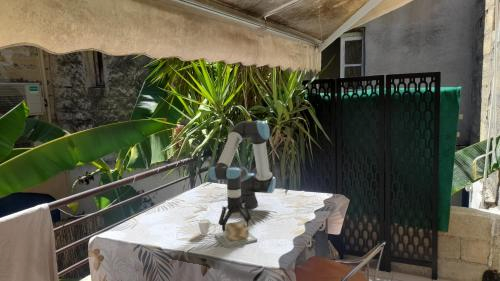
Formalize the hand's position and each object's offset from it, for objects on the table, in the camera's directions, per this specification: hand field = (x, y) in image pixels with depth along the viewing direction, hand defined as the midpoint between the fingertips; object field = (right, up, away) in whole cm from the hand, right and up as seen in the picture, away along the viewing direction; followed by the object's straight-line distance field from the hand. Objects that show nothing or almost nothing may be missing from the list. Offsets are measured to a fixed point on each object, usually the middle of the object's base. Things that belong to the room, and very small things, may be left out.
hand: (235, 234), depth 195 cm
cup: (-17, -2, +8) cm, 19 cm away
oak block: (0, -1, 0) cm, 1 cm away
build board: (0, -3, 0) cm, 3 cm away
